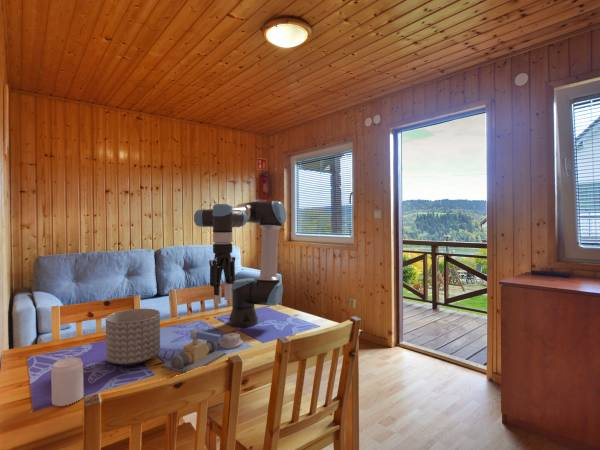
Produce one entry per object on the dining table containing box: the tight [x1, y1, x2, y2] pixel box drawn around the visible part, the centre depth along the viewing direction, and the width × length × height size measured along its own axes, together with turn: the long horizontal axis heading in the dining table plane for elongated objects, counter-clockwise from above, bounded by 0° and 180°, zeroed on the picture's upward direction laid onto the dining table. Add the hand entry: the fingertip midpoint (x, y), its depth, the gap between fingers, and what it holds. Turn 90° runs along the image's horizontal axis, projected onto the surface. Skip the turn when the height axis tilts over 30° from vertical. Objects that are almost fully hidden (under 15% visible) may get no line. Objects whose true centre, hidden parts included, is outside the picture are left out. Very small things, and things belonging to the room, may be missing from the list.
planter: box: [105, 308, 161, 366], centre depth 136 cm, size 19×19×18 cm
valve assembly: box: [161, 338, 227, 374], centre depth 137 cm, size 20×14×9 cm
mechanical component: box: [219, 332, 244, 350], centre depth 154 cm, size 10×4×10 cm
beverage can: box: [50, 356, 84, 407], centre depth 107 cm, size 8×8×12 cm
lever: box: [190, 329, 222, 344], centre depth 134 cm, size 14×3×2 cm, turn 64°
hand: (222, 301), depth 138 cm, fingers open, 5 cm apart
